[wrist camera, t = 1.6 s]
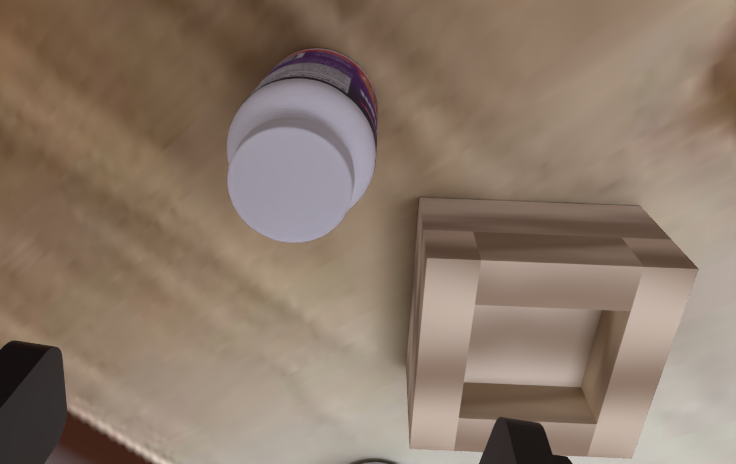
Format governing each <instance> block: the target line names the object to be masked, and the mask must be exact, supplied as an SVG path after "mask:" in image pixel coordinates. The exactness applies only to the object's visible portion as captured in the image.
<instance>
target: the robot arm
mask: <svg viewBox="0 0 736 464" xmlns="http://www.w3.org/2000/svg"><path fill="white" fill-rule="evenodd" d="M66 415H67V404H66V393H65V381H64V370H63V359H62V353H61V350H60V349H59V348H58V347H54V346H47V345H41V344H34V343H28V342H21V341H11V342H9V343H7V344H6V345H5V346H4V347H3V348H2V349H1V350H0V464H44V463H45V462H46V460H47V458H48V457H49V456H50V454H51V452H52V451H53V449H54V448H55V446H56V444H57V443H58V441H59V439H60V436H61V434H62V431H63V428H64V425H65V421H66ZM479 464H572V462H571V461H570V460H569V459H568V457H566V456H559V455H553V454H552V451H551V448H550V445H549V441H548V438H547V435H546V432H545V430H544V427H543V426H542V425H541V424H540V423H538V422H532V421H525V420H519V419H512V418H506V417H499V418H498V419H497V420H496V422H495V424H494V427H493V429H492V432H491V434H490V437H489V439H488V442H487V445H486V447H485V450H484V452H483V455H482V457H481V460H480V463H479Z"/></svg>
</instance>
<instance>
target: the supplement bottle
mask: <svg viewBox="0 0 736 464" xmlns="http://www.w3.org/2000/svg"><path fill="white" fill-rule="evenodd" d="M363 464H387V463H381V462H369V463H363Z"/></svg>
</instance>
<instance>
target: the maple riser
mask: <svg viewBox="0 0 736 464" xmlns="http://www.w3.org/2000/svg"><path fill="white" fill-rule="evenodd" d="M698 270H699V269H698V268H697V267H696V266H695V265H694V264H693V262H692V261H691V260H690V259H689V258H688V257H687V256H686V255H685V254H684V253H683V252H682V251H681V249H680V248H679V247H678V246H677V245H676V244H675V243H674V242H673V241H672V240H671V239H670V238H669V237H668V235H667V234H666V233H665V232H664V231H663V230H662V229H661V228H660V227H659V226H658V225H657V224H656V222H655V221H654V220H653V219H652V218H651V217H650V216H649V215H648V214H647V213H646V212H645V211H644V210H643V208H642V207H641V206H627V205H601V204H576V203H551V202H525V201H500V200H474V199H449V198H424V197H420V198H419V211H418V223H417V236H416V249H415V261H414V274H413V286H412V299H411V312H410V324H409V337H408V349H407V362H406V376H407V398H408V421H409V443H410V449H429V450H452V451H475V452H484V450H485V447H486V445H487V442H488V439H489V437H490V434H491V432H492V429H493V427H494V424H495V422H496V420H497V419H498V418H499V417H506V418H512V419H519V420H525V421H532V422H538V423H540V424H541V425H542V426H543V427H544V430H545V432H546V435H547V438H548V441H549V445H550V448H551V451H552V454H553V455H565V456H587V457H610V458H632V456H633V453H634V451H635V448H636V445H637V442H638V439H639V436H640V434H641V431H642V428H643V425H644V422H645V419H646V417H647V414H648V411H649V408H650V405H651V403H652V400H653V397H654V394H655V391H656V388H657V386H658V383H659V380H660V377H661V374H662V371H663V369H664V366H665V363H666V360H667V357H668V354H669V352H670V349H671V346H672V343H673V340H674V337H675V335H676V332H677V329H678V326H679V323H680V321H681V318H682V315H683V312H684V309H685V306H686V304H687V301H688V298H689V295H690V292H691V289H692V287H693V284H694V281H695V278H696V275H697V272H698Z"/></svg>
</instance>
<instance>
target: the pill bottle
mask: <svg viewBox="0 0 736 464" xmlns="http://www.w3.org/2000/svg"><path fill="white" fill-rule="evenodd" d="M376 147H377V100H376V95H375V91H374V88H373V86H372V83H371V81H370V79H369V78H368V76H367V75H366V73H365V72H364V71H363V69H362V68H361V67H360V66H359V65H358V64H357V63H355V62H354V61H353V60H352V59H350V58H349V57H347V56H345V55H343V54H341V53H338V52H336V51H333V50H329V49H322V48H312V49H305V50H301V51H298V52H295V53H293V54H291V55H289V56H287V57H286V58H284V59H283V60H282V61H280V62H279V63H278V64H277V65H276V66H275V67H274V68H273V69H272V70H271V71H270V72H269V73H268V74H267V75H266V77H265V78H264V79H263V80H262V81H261V83H260V84H259V85H258V86H257V87H256V88H255V90H254V91H253V92H252V93H251V94H250V96H249V97H248V98H247V99H246V100H245V102H244V103H243V104H242V105H241V107H240V108H239V110H238V111H237V113H236V115H235V117H234V119H233V121H232V123H231V126H230V129H229V133H228V138H227V158H228V164H229V169H228V179H227V183H228V191H229V195H230V199H231V201H232V204H233V206H234V208H235V209H236V211H237V213H238V214H239V215H240V217H241V218H242V219H243V220H244V221H245V222H246V223H247V224H248V225H249V226H250V227H251V228H252V229H254V230H255V231H257V232H258V233H260V234H262V235H264V236H266V237H268V238H271V239H274V240H278V241H282V242H290V243H298V242H307V241H311V240H314V239H317V238H320V237H322V236H324V235H325V234H327V233H329V232H330V231H331V230H333V229H334V228H335V227H336V226H337V225H338V224H339V223H340V222H341V221H342V219H343V218H344V216H345V215H346V213H347V211H348V210H349V209H350V208H351V207H352V206H353V205H354V204H356V203H357V201H358V200H359V199H360V198H361V197H362V196H363V194H364V193H365V191H366V190H367V188H368V186H369V184H370V182H371V179H372V176H373V173H374V169H375V163H376Z"/></svg>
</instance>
